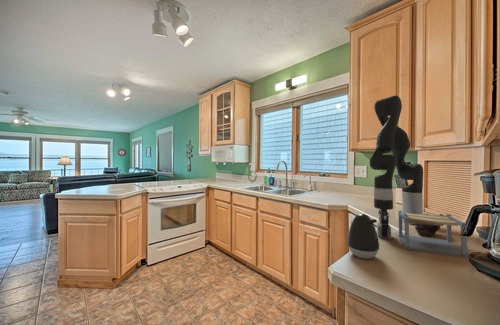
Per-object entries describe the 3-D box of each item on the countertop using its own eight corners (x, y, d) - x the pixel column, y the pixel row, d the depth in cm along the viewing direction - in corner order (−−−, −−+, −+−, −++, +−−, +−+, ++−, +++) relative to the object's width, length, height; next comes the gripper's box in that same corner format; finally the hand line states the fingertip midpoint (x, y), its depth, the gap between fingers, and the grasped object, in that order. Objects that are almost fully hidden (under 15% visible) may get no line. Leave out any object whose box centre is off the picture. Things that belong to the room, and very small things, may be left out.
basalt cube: (377, 233, 102) (377, 223, 102) (389, 235, 100) (389, 224, 100) (378, 237, 98) (377, 226, 98) (391, 238, 95) (390, 227, 95)
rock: (413, 236, 101) (441, 241, 95) (412, 219, 101) (440, 222, 94) (415, 227, 110) (441, 230, 103) (414, 211, 109) (440, 213, 103)
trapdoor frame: (398, 236, 99) (398, 210, 99) (449, 242, 91) (449, 213, 91) (405, 249, 83) (405, 218, 84) (468, 258, 75) (467, 223, 75)
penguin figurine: (366, 264, 71) (365, 218, 71) (341, 253, 80) (340, 212, 81) (386, 259, 75) (386, 215, 75) (360, 248, 84) (360, 210, 85)
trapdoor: (402, 220, 97) (402, 211, 97) (445, 224, 90) (445, 215, 90) (409, 229, 85) (409, 218, 85) (459, 234, 78) (459, 223, 78)
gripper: (372, 195, 107) (373, 229, 107) (375, 199, 94) (375, 238, 94) (390, 196, 104) (391, 231, 103) (395, 200, 91) (396, 241, 91)
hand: (383, 234), depth 99 cm, fingers closed on basalt cube, 5 cm apart
